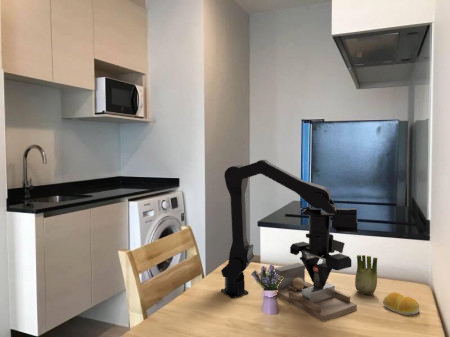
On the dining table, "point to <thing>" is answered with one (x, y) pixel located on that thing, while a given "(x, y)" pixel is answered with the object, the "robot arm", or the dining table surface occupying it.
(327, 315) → the base
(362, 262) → the fennel bulb
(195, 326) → the dining table surface
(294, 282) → the walnut
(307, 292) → the sliding jaw
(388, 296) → the bread roll
